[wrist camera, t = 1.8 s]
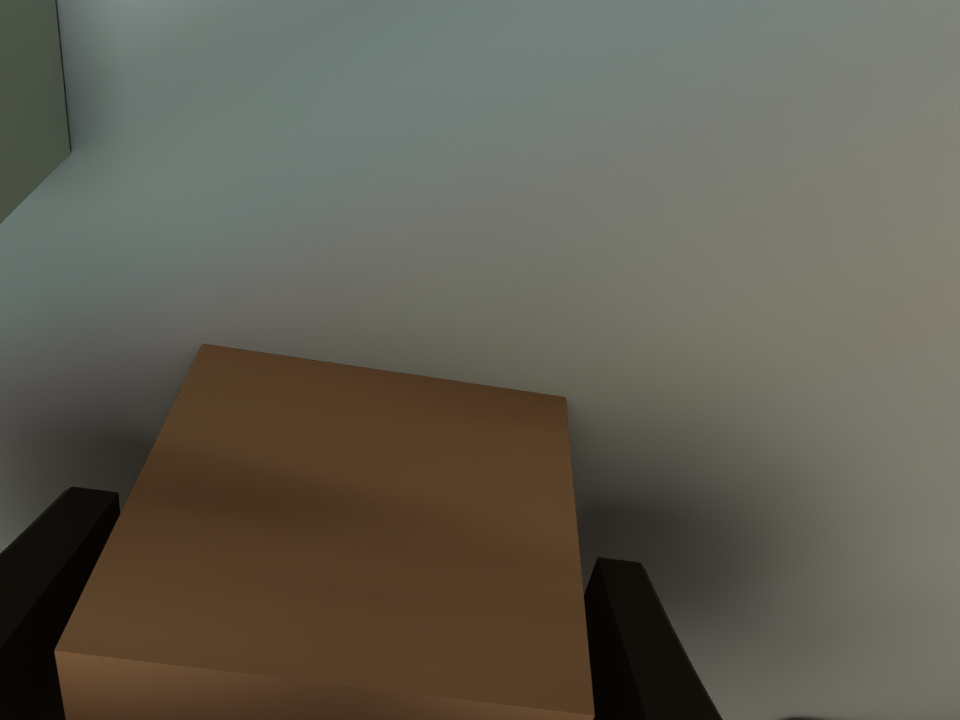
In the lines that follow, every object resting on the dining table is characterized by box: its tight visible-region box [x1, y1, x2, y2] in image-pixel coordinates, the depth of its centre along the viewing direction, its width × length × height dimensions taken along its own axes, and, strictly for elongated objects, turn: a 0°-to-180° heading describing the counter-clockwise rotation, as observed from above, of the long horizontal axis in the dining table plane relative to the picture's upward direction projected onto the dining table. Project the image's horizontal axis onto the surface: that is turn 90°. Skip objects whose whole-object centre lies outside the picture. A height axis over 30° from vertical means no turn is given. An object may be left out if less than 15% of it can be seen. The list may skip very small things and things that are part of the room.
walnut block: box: [54, 344, 595, 720], centre depth 12 cm, size 5×5×5 cm
